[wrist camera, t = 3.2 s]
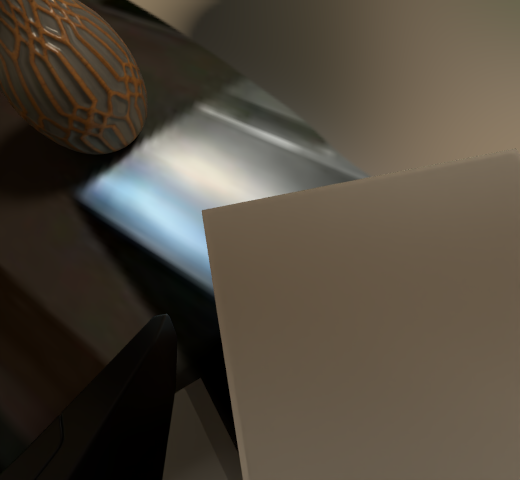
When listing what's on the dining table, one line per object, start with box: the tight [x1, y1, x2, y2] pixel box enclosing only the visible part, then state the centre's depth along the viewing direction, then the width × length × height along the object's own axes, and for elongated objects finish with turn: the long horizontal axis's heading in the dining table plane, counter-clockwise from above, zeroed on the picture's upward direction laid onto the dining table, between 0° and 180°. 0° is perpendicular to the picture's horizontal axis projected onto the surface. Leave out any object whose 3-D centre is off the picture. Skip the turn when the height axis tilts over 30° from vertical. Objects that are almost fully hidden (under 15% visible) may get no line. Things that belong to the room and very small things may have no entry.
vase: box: [0, 0, 147, 154], centre depth 15 cm, size 7×7×9 cm
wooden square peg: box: [202, 149, 520, 480], centre depth 9 cm, size 4×4×13 cm
